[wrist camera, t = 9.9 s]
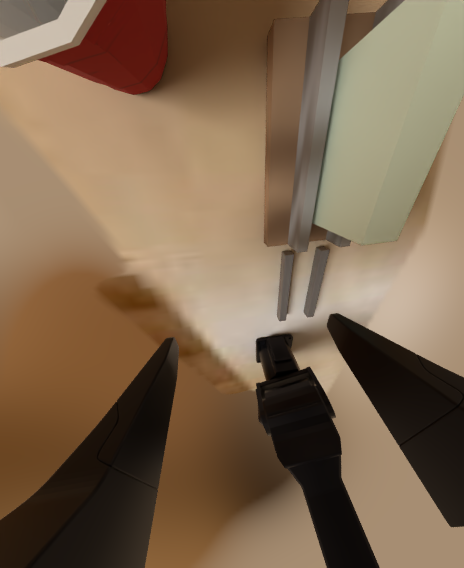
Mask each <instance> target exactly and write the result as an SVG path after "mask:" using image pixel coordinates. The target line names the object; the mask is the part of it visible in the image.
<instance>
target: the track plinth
mask: <svg viewBox="0 0 464 568" xmlns="http://www.w3.org/2000/svg"><path fill="white" fill-rule="evenodd" d="M403 1H405V0H388V1H387V2H386V3H385V4H384V5H383V6H382V7H381V8H380V9H379V10H378V11H377V12H371V13H357V14H347V8H348V2H349V0H320V1H319V3H318V4H317V6H316V7H315V9H314V11H313V12H312V14H311V16H310V17H300V18H285V19H274V21H273V24H272V26H271V29H270V31H269V33H268V36H267V96H266V157H265V219H264V243H265V244H266V245H267V246H268V247H269V246H277V245H285V244H288V245H289V246H290V247H292V248H293V249H294V250H295V251H296V252H297V253H299V252H306V251H307V249H308V243H309V241H317V240H325V239H326V240H328V241H329V242H331V243H333V244H335V245H337V246H339V247H345V246H350V242H351V240H348V239H346V238H344V237H342V236H340V235H337V234H335V233H333V232H331V231H329V230H326V229H324V228H322V227H320V226H318V225H316V224H313V223H312V219H313V213H314V207H315V201H316V195H317V189H318V183H319V177H320V171H321V165H322V159H323V153H324V147H325V141H326V135H327V129H328V123H329V117H330V111H331V105H332V99H333V93H334V87H335V81H336V75H337V69H338V62H339V60H340V59H341V58H342V57H343V56H344V55H345V54H346V53H347V52H349V51H350V50H351V49H352V48H353V47H354V46H355V45H356V44H357V43H358V42H359V41H361V40H362V39H363V38H364V37H365V36H366V35H367V34H368V33H369V32H370V31H372V30H373V29H374V28H375V27H376V26H377V25H378V24H379V23H380V22H381V21H383V20H384V19H385V18H386V17H387V16H388V15H389V14H390V13H391V12H392V11H394V10H395V9H396V8H397V7H398V6H399V5H400V4H401V3H402V2H403Z"/></svg>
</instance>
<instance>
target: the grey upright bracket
mask: <svg viewBox="0 0 464 568" xmlns="http://www.w3.org/2000/svg"><path fill="white" fill-rule="evenodd" d="M328 254H329V249H327V248H326V247H324V246H323V247H316V251H315V256H314V261H313V266H312V272H311V277H310V282H309V287H308V292H307V297H306V302H305V307H304V313H305V315H306V316H307V317H313V316H314V312H315V308H316V304H317V300H318V295H319V291H320V287H321V283H322V279H323V275H324V271H325V267H326V262H327V258H328ZM293 257H294V254H293V253H292V252H291V251H284V252H282V258H281V271H280V284H279V296H278V309H277V317H278V319H279V321H285V320H286V315H287V307H288V298H289V290H290V282H291V274H292V265H293Z"/></svg>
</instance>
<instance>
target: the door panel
mask: <svg viewBox="0 0 464 568" xmlns="http://www.w3.org/2000/svg"><path fill="white" fill-rule="evenodd" d="M463 96H464V0H405V1H403V2H402V3H401V4H400V5H399V6H398V7H397V8H396V9H395V10H394V11H392V12H391V13H390V14H389V15H388V16H387V17H386V18H385V19H384V20H383V21H381V22H380V23H379V24H378V25H377V26H376V27H375V28H374V29H373V30H372V31H370V32H369V33H368V34H367V35H366V36H365V37H364V38H363V39H362V40H361V41H359V42H358V43H357V44H356V45H355V46H354V47H353V48H352V49H351V50H350V51H349V52H347V53H346V54H345V55H344V56H343V57H342V58H341V59H340V60H339V62H338V69H337V75H336V81H335V87H334V93H333V99H332V105H331V111H330V117H329V123H328V129H327V135H326V141H325V147H324V153H323V159H322V165H321V171H320V177H319V183H318V189H317V195H316V201H315V207H314V213H313V219H312V223H313V224H316V225H318V226H320V227H322V228H324V229H326V230H329V231H331V232H333V233H335V234H337V235H340V236H342V237H344V238H346V239H348V240H351V241H353V242H355V243H357V244H359V245H369V244H377V243H384V242H392V241H397V239H398V237H399V235H400V233H401V231H402V229H403V226H404V224H405V222H406V220H407V218H408V215H409V213H410V211H411V209H412V207H413V205H414V202H415V200H416V198H417V196H418V194H419V192H420V189H421V187H422V185H423V183H424V181H425V179H426V176H427V174H428V172H429V170H430V168H431V166H432V163H433V161H434V159H435V157H436V155H437V152H438V150H439V148H440V146H441V144H442V142H443V139H444V137H445V135H446V133H447V131H448V129H449V126H450V124H451V122H452V120H453V118H454V116H455V113H456V111H457V109H458V107H459V104H460V102H461V100H462V98H463Z"/></svg>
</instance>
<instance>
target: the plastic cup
mask: <svg viewBox="0 0 464 568" xmlns="http://www.w3.org/2000/svg"><path fill="white" fill-rule="evenodd" d="M167 56H168V36H167V17H166V0H0V67H11V68H15V67H18V66H21V65H24V64H27V63H29V62H32V61H35V60H39V61H43V62H47V63H49V64H51V65H54V66H56V67H59V68H61V69H64V70H66V71H69V72H71V73H74V74H76V75H78V76H81V77H83V78H86V79H88V80H91V81H93V82H97V83H100V84H103V85H107V86H109V87H111V88H113V89H115V90H118V91H122V92H125V93H129V94H132V95H135V94H140V93H143V92H147V91H150V90H151V89H152V88H153V87H154V86H155V85H156V84H157V83H158V81H159V80H160V79H161V77H162V74H163V70H164V67H165V64H166V60H167Z"/></svg>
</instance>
